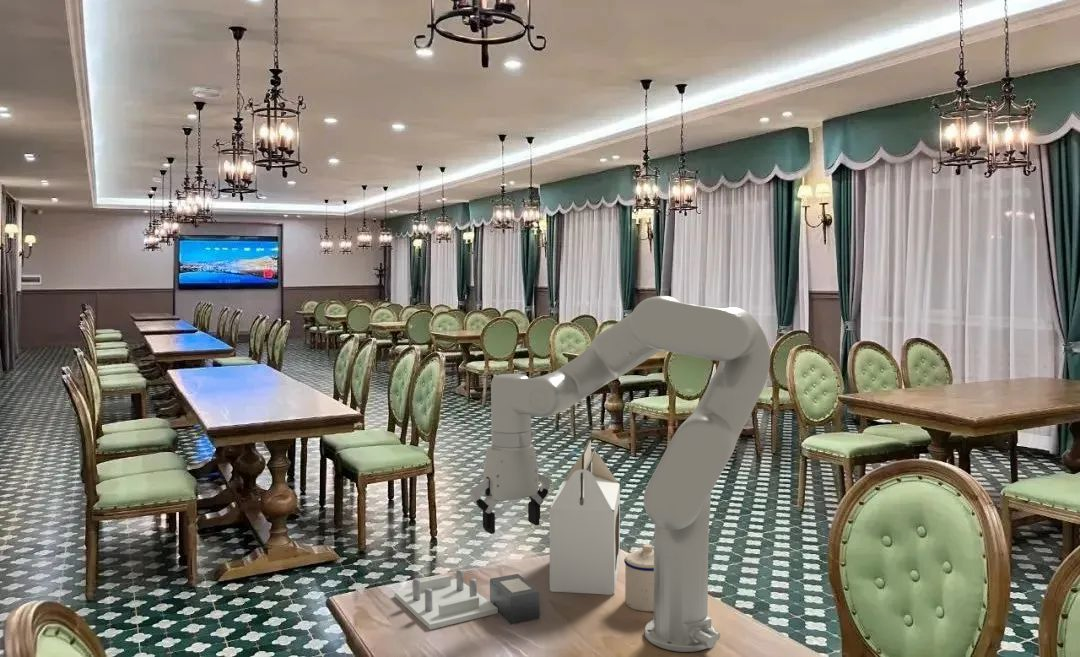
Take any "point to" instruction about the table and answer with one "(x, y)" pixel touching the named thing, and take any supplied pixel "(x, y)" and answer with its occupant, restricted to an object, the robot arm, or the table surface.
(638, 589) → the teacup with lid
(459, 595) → the peg fixture base
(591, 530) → the gable box
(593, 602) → the table surface
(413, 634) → the table surface
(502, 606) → the drive
